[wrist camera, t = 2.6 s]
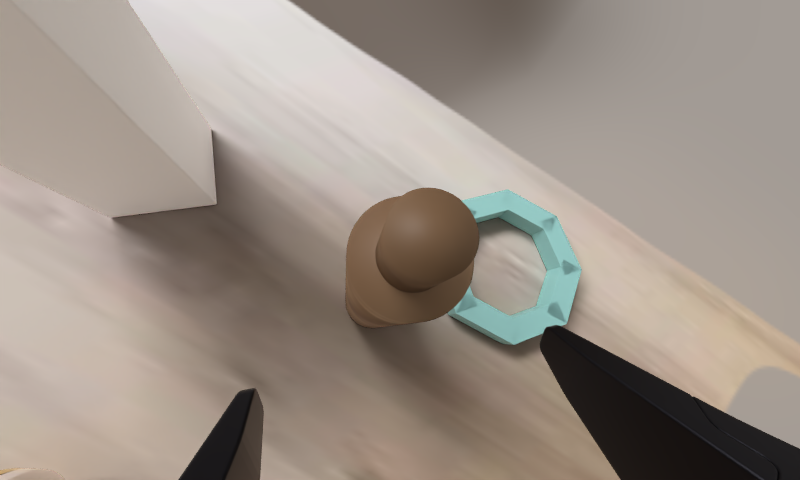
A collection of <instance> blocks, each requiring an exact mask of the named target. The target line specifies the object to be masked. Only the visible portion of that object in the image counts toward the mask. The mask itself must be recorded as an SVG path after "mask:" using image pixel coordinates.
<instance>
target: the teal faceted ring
mask: <svg viewBox="0 0 800 480" xmlns="http://www.w3.org/2000/svg"><path fill="white" fill-rule="evenodd" d="M462 202H463V203H464V204H465V205H466V206H467V207H468V208H469V210H470V211H471V213H472V214H473V216H474V218H475V220H476V223H479V222H483V221H486V220H490V219H494V218H497V217H499V218H501V219H503V220H504V221H506V222H508V223H510V224H512V225H514V226H515V227H517V228H519V229H521V230H523V231H525V232H526V233H528V234H530V235H531V236H532V238H533V240H534V242H535V245H536V247H537V249H538V251H539V254H540V256H541V258H542V260H543V263H544V265H545V267H546V269H547V273H546V276H545V279H544V283H543V286H542V289H541V292H540V295H539V298H538V301H537V304H536V306H535V307H532V308H530V309H527V310H524V311H521V312H519V313H516V314H513V315H511V316H508V315H507V314H505V313H503V312H501V311H499V310H497V309H496V308H494V307H492V306H490V305H488V304H486V303H484V302H483V301H481V300H479V299H477V298H475V297H474V296H473V294H472V291H471V288H470V286H469V288H468V290H467V292H466V294H465V295H464V297H463V298H462V300H461V301H460V302H459V303H458V304H457V305H456V306H455V307H454V308H453V309H452V310H450V311H449V312H448V315H450V316H452V317H453V318H455V319H457V320H459V321H461V322H463V323H465V324H466V325H468V326H470V327H472V328H474V329H476V330H478V331H479V332H481V333H483V334H485V335H487V336H489V337H490V338H492V339H494V340H496V341H498V342H500V343H502V344H511V345H515V344H517V343H520V342H522V341H525V340H527V339H530V338H532V337H535V336H537V335H540V334H542V333H543V332H544V329H545V328H546V327H548V326H553V325H559V326H562V325H565V324H567V321H568V318H569V314H570V310H571V307H572V303H573V299H574V296H575V292H576V288H577V285H578V281H579V278H580V274H581V270H582V269H581V267H580V265H579V263H578V260H577V258H576V256H575V254H574V252H573V250H572V248H571V246H570V243H569V241H568V239H567V237H566V235H565V233H564V231H563V229H562V227H561V224H560V222H559V220H558V218H557V216H555V215H553V214H552V213H550V212H548V211H546V210H544V209H542V208H541V207H539V206H537V205H535V204H533V203H532V202H530V201H528V200H526V199H524V198H522V197H521V196H519V195H517V194H515V193H513V192H512V191H510V190H503V191H499V192H495V193H491V194H487V195H483V196H479V197H475V198H471V199H467V200H462Z"/></svg>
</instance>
